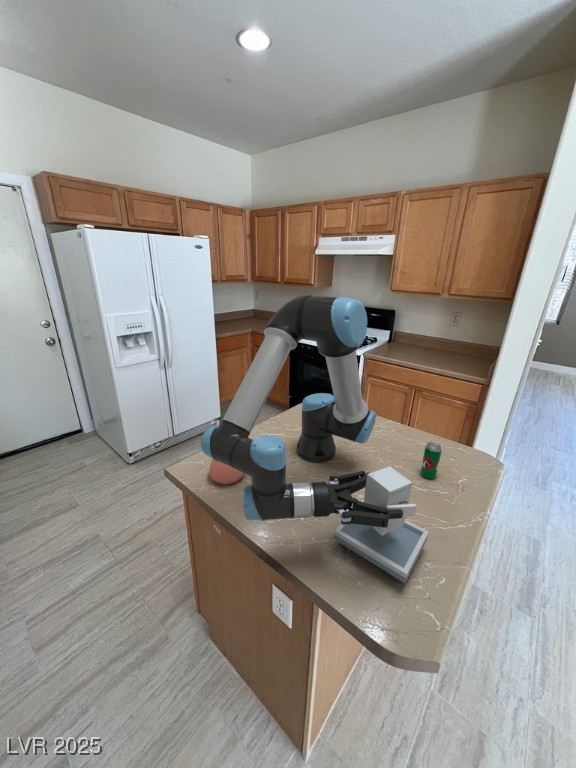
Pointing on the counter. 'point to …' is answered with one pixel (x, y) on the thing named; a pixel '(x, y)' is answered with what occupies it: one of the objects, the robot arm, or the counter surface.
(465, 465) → the counter surface
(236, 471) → the sugar bowl
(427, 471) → the soda can
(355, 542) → the shallow rimmed tray
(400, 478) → the supplement box
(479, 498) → the counter surface
